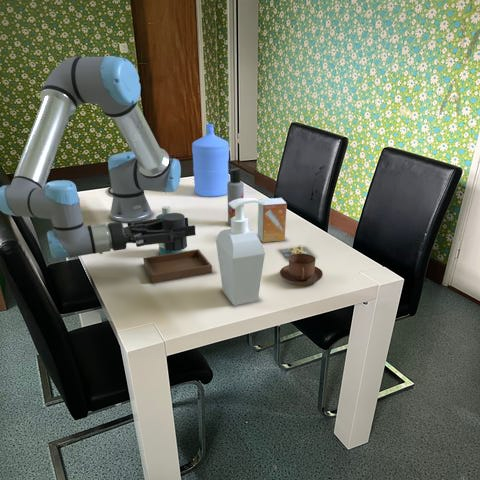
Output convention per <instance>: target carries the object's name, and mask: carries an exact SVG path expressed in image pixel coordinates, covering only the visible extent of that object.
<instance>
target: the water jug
mask: <svg viewBox="0 0 480 480" xmlns="http://www.w3.org/2000/svg"><path fill="white" fill-rule="evenodd" d="M205 126H206V127H205V132H206V134H205V135H203V136H202V137H200V138H197V139H196V140H194V141H193V142H192V143H191V145H192V147H191V150H192V151H191V152H192V165H193V168H192V170H193V181H194V182H193V183H194V186H193V187H194V189H193V190H194V193H195V194H196V195H198V196H200V197H205V198H206V197H207V198H208V197H209V198H211V197H212V198H216V197H222V196H225V195H228V194H227V183H228V182H230V174H229V159H230V144H229V142H228V141H227V139H223V138H221V137H220V136H218V135H215V132H214V130H215V129H214V123H205Z"/></svg>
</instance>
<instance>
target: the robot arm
mask: <svg viewBox="0 0 480 480" xmlns="http://www.w3.org/2000/svg"><path fill="white" fill-rule="evenodd" d="M141 89H142V87H141V83H140V76H139V74H138V71H137V69H136V67H135V66H134V64H133V63H132V62H131V61H130V60H129V59H127V58H126V57H120V56H115V55H108V56H79V55H78V56H72V57H69V58H66V59H65V60H63V61H62V62H60V63H59V64H58V65H57V66H56V67H55V68H54V69H52V71H51V72H50V74H49V75H48V77H47V79H46V80H45V82H44V83H43V86H42V87H41V91H40V94H39V97H40V100H41V103H40V106H39V108H38V111H37V114H36V117H35V119H34V122H33V124H32V126H31V130H30V133H29V135H28V138H27V141H26V143H25V145H24V148H23V151H22V154H21V156H20V160H19V162H18V164H17V167H16V170H15V173H14V175H13V178H12V180H11V183H10V184H6V185H2V186H0V212H1V213H3V214H5V215H8V216H14V217H18V218H19V217H20V218H21V217H24V218H25V217H26V218H36V219H46V220H51V223H52V228H53V229H51V230H48V231H47V232H46V236H47V242H48V247H49V250H50V254H51V256H52V258H53V259H56V260H57V259H67V258H70V259H72V258H76V257H83V256H88V255H94V254H99V255H103V254H104V253H109V252H111V251H114V252H115V251H122V250H126V249H127V245H128V244H135V246H136V247H137V248H139V247H144V246H151V245H159V244H160V243H169V242H174V241H173V238H180V237H187V238H188V237H192V236H193V237H194V236H196V234H197V233H196V225H195V224H193V225H189V217H185V226H184V227H177V228H172V230H163V228H162V220H161V219H162V217H161V218H157V219H156V218H152V219H151V218H150V217H151V216H152V209H151V206H150V204H149V202H148V200H147V198H146V195H145V191H148V192H159V193H165V194H167V193H174V192H176V191H177V190H178V188H179V185H180V181H181V177H182V176H181V175H182V167H181V162H180V160H179V159H177V158H174V157H173V158H171V157H170V155H169V153H168V152H167V151H166V149H163V148H161V147H160V145H159V143H158V141H157V139H156V138H155V136H154V133H153V132H152V130H151V128H150V126H149V123H148V121H147V120H146V118H145V116H144V113H143V112H142V110H141V108H140V106H139V99H140V97H141ZM82 104H91V105H92V104H93V105H97V106H98V107H99V108H100V110H101V112H102V113H103V114H104V116H105V117H108V118H110V119H112V120H113V122H114V123H115V126H117V128H118V130H119V131H120V134H121V135H122V136H123V138H124V140H125V141H126V144H127V145H128V146H129V149H130V150H131V151H124V152H119V153H116V154H113V155H111V156H109V158H108V159H107V164H108V165H107V167H108V175H109V179H110V181H108V182H107V185H109V186H110V187H109V188H108V190H107V191H108V194H110V195H111V196H112V201H111V207H110V218H111V220H113V221H115V222H109V223H108V224H106V223H98V224H91V225H85V223H84V220H83V213H82V207H81V200H80V197H79V193H78V190H77V186H76V184H75V183H74V182H73V181H71V180H66V179H62V180H61V179H60V180H51V181H49V182H47V179H48V177H49V175H50V172H51V169H52V166H53V164H54V161H55V158H56V155H57V152H58V149H59V146H60V144H61V141H62V138H63V137H64V136H63V135H64V132H65V130H66V128H67V124H68V121H69V119H70V116H73V115H74V114H75V113H76V111H77V108H78V107H79V106H80V105H82ZM149 218H150V219H149ZM123 223H126V225H127V226H124V224H123Z"/></svg>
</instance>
